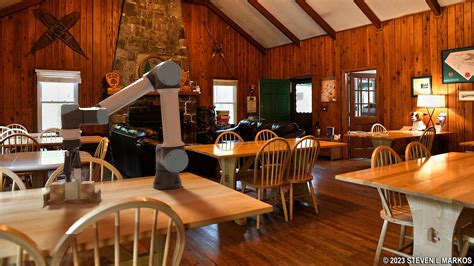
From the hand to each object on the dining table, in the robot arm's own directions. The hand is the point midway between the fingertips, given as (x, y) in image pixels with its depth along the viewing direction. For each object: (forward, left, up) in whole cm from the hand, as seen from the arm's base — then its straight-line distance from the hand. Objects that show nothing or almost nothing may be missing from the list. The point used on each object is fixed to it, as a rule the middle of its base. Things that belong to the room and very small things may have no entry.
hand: (73, 185), depth 159 cm
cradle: (0, 0, -7) cm, 7 cm away
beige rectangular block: (0, 0, -5) cm, 6 cm away
